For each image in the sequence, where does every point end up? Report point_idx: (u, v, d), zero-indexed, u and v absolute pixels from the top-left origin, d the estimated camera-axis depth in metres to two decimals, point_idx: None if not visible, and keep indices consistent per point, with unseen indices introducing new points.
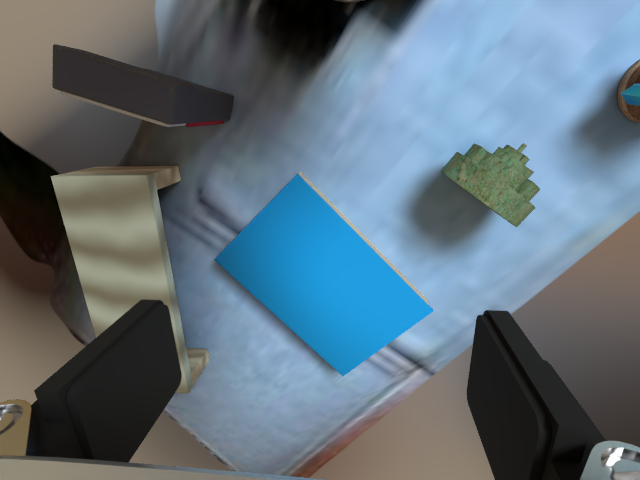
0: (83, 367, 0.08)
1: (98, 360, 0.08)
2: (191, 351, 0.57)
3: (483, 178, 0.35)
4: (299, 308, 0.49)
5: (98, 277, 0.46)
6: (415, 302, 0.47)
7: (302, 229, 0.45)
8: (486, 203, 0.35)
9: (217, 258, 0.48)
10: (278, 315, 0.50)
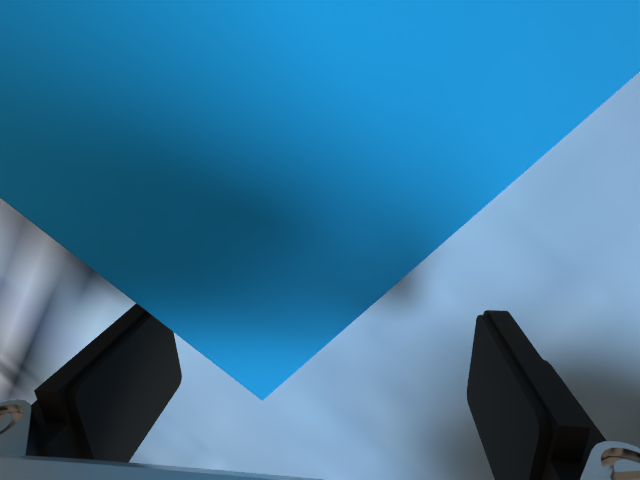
0: (83, 367, 0.08)
1: (98, 360, 0.08)
2: None
3: None
4: None
5: None
6: (291, 331, 0.10)
7: None
8: None
9: None
10: None
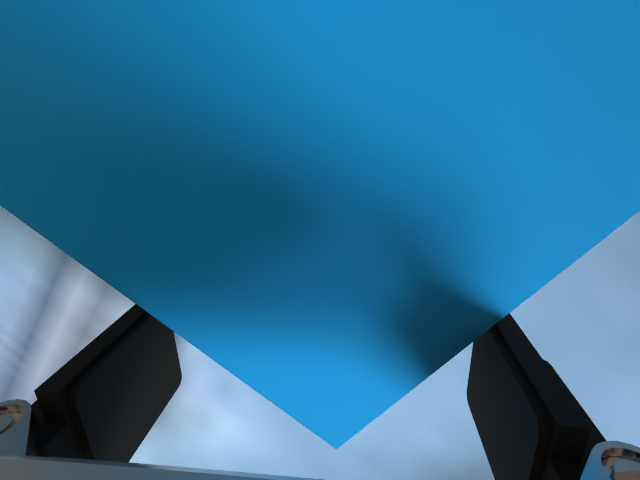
0: (83, 368, 0.08)
1: (98, 360, 0.08)
2: None
3: None
4: None
5: None
6: (368, 385, 0.10)
7: None
8: None
9: None
10: None
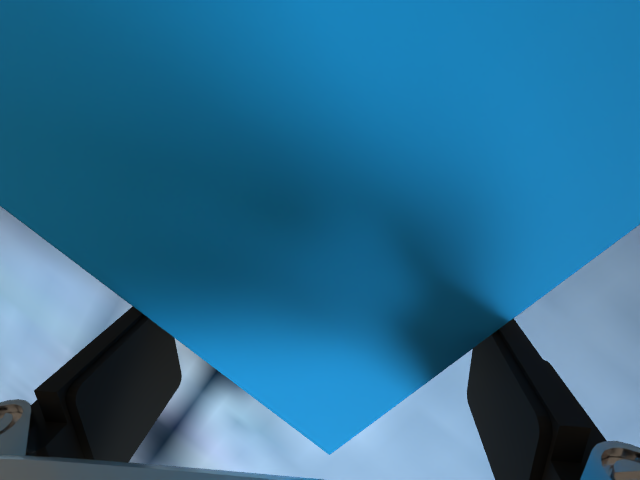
0: (83, 368, 0.08)
1: (98, 360, 0.08)
2: None
3: None
4: None
5: None
6: (363, 391, 0.10)
7: None
8: None
9: None
10: None
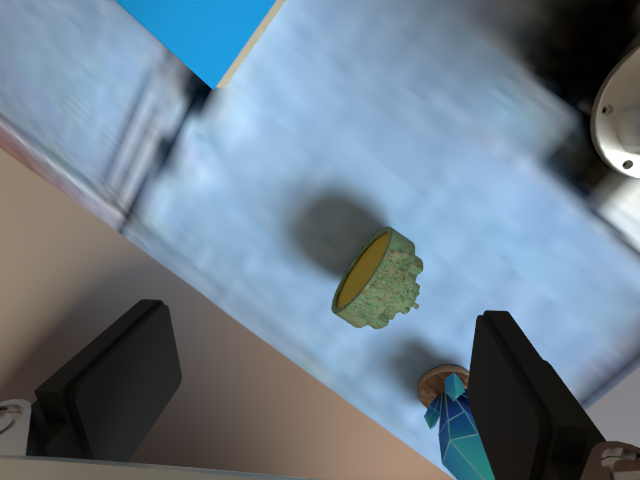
0: (83, 368, 0.08)
1: (98, 360, 0.08)
2: None
3: (395, 279, 0.31)
4: None
5: None
6: (219, 58, 0.32)
7: None
8: (367, 286, 0.30)
9: None
10: None
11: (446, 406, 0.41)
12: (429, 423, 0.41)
